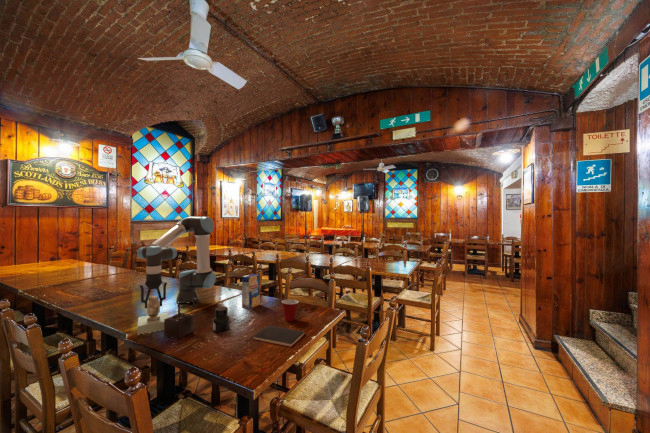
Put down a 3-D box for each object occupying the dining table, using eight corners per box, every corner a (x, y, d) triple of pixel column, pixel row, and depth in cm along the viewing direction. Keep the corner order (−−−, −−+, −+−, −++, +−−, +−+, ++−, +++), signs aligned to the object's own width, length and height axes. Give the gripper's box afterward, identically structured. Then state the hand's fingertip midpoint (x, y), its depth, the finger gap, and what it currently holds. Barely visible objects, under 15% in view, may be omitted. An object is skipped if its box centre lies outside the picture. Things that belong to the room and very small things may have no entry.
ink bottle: (217, 325, 162) (217, 305, 162) (232, 326, 162) (232, 306, 162) (209, 332, 153) (210, 311, 153) (225, 333, 152) (225, 311, 152)
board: (167, 320, 170) (167, 312, 170) (169, 329, 156) (169, 320, 156) (138, 325, 162) (138, 317, 162) (137, 335, 148) (137, 326, 148)
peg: (158, 320, 162) (158, 295, 163) (158, 323, 158) (158, 297, 158) (148, 322, 160) (148, 296, 160) (148, 325, 156) (148, 299, 156)
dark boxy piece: (179, 339, 144) (179, 305, 144) (163, 336, 147) (163, 303, 147) (201, 328, 159) (201, 297, 159) (186, 325, 162) (186, 295, 162)
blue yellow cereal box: (241, 307, 195) (242, 276, 195) (252, 303, 205) (252, 273, 205) (249, 308, 192) (249, 277, 192) (259, 304, 202) (259, 274, 202)
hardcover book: (291, 348, 137) (291, 343, 137) (252, 340, 145) (252, 336, 145) (304, 335, 152) (304, 331, 152) (269, 328, 160) (269, 324, 160)
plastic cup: (301, 318, 175) (302, 299, 175) (292, 324, 165) (292, 304, 165) (288, 315, 180) (288, 297, 180) (277, 321, 170) (277, 301, 170)
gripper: (171, 270, 167) (170, 308, 167) (135, 273, 158) (135, 313, 158) (171, 272, 161) (171, 312, 161) (134, 275, 151) (134, 317, 151)
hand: (153, 312), depth 159 cm, fingers closed on peg, 5 cm apart
